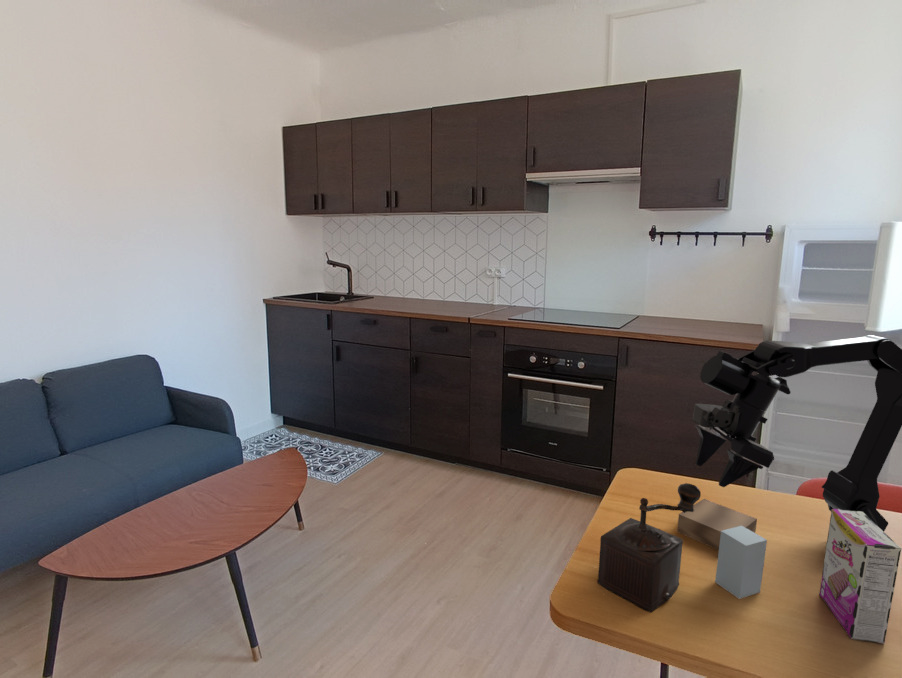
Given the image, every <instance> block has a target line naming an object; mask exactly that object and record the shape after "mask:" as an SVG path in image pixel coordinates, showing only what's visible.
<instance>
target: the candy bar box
mask: <svg viewBox="0 0 902 678" xmlns="http://www.w3.org/2000/svg"><path fill="white" fill-rule="evenodd" d="M830 512H831V513H830V519H829V525H828V533H827V539H826V544H825V545H826V547H825V552H824V553H825V554H824V555H825V556H824V560H823V567H822V574H821V580H820V581H821V582H820V587H819V594H818V595H819V596H820V597H821V599H822V601H823V602H824V603H825V605H827V607H828V609H829V610H830V611H831V612H832V614H833V616H834V617H835V618H836V620H837V621H838V622H839V624H840V625H841V627H842V629H844V631H845V633H847V636H848V637H849V638H850V639H851V640H854V641H861V642H866V643H867V642H870V643H875V644H876V643H877V644H884V645H885V642H886V637H887V630H888V626H889V621H890V614H891V609H892V603H893V597H894V594H895V593H894V592H895V587H896V580H897V575H898V569H899V564H900V557H901V551H902V547H901V546H900V545H898V544H897V543H896V542H895V541H894V540H893V539H892V538H891V537H890V535H888V534H887V533H886V532H885V531H884V532H883V531H882V530H881V529H880V528H879V527H878V526H877V525H876V524H875V523H874V522H873V521H872V520H871V519H870V518H869V517H868V516H867V515H866V514H865V513H863V512H861V511H851V510H842V509H832V510H831V511H830Z"/></svg>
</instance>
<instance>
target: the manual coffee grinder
mask: <svg viewBox="0 0 902 678" xmlns="http://www.w3.org/2000/svg"><path fill="white" fill-rule="evenodd" d="M677 494H678V495H679V499H680V500H679V502H678V503H677V506H676V505H671V504H663V503H656V504H651V505H648V504H649V501H648V498H646V497H642V498H641V499H640V500H639V501H640V502H639V503H640V505H639V511H640V519H639V520H637V519H635V518H632V517H630V518H628V519H627V520H626V519H625V521H622V522H621V523H620V524H618V525H617V526H615V527H613V528H611V530H608V531H607V532H605V533H604V534H602V535H601V536H600V545H599V546H600V547H599V559H598V560H599V562H598V574H597V585H599V586H601V587H602V588H604V589H606V591H609V592H611V593H613V594H615V595H616V596H619V597H620V598H622V599H623V600H625V601H627V602H629V603H630V604H632V605H635V606H636V607H638V608H640V609H642V610H643V611H645V612H649V613H652V612H653V611H655V610H657V608H659V607H660V606H662V605H663V604H664V603H666V602H668V601H669V600H670V599H671V598H672V597H673V594H674V593H675V592H676V591H677V590H678V587H679V586H680V575H681V574H680V573H681V564H682V563H681V562H682V553H683V544H684V539H682V538H680V537H678V536H676V535H674V534H672V533H669V532H667V531H665V530H662V529H659V528H657V527H655V526H653V525H650V524H648V523H647V512H652V511H656V510H668V511H669V510H670V511H677V512H678V511H680V512H683V513H685V512H687V511H689V512H694V508H693V505H695V504H696V502H697V501H698V502H699V501H700V498H701V490H700V488H698V486H697V485H694V484H692V483H687V482H685V483H680V484H679V485H678V487H677Z"/></svg>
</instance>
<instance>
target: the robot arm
mask: <svg viewBox="0 0 902 678" xmlns="http://www.w3.org/2000/svg"><path fill="white" fill-rule="evenodd" d="M865 361H867V364H868V365H869V366H870V367H871V368H872V369H873V370H874V371H876V372H877V374H876V377H875V381H874V387H875V393H876V402H875V404H874V406H873V409H872V411H871V413H870V415H869V416H868V419H867V421H866V424H865V426H864V428H863V431H862V432H861V434H860V437H859V438H858V442H857V443H856V445H855V448H854V450H853V452H852V454H851V457H850V459H849V461H848V463H847V465H846V466H845V467H844V468H842V469H841V470H839V471H834V470H830V471H829V472H828V474H827V477H826V481H825V482H824V483H823V484H822V486H821V488H822V489H823V491H822V498H823V499H824V502H825V503H826V504H827V507H828V510H829V512H831V510H832V509H842V510H851V511H861V512H863V513H865V514H866V515H867V516H868V517H869V518H870V519H871V520H872V521H873V522H874V523H875V524H876V525H877V526H878V527H879V528H880V529H881V530H882V531H883V532H884V533H885V531H886V529H887V527H888V526H889V522H888V520H887V519H885V517H884V516H883V515H882V513H880V512H879V510H877V508H878V504H879V500H880V490H879V485H878V478H879V476H880V474H881V472H882V469H883V467H884V465H885V463H886V461H887V459H888V456H889V454H890V452H891V450H892V448H893V445H894V444H895V441H896V439H897V437H898V435H899V433H900V431H901V429H902V348H901V347H900V346H898V345H897V344H896V343H895V342H894V341H892V340H891V339H889V338H886V337H882V336H877V335H873V334H868V335H864V336H860V337H859V336H858V337H853V338H852V337H851V338H841V339H835V340H834V339H833V340H824V341H817V342H808V343H799V342H792V341H783V340H782V341H781V340H764V341H761V342H760V343H758V345H757V346H756V348H755V349H753V350H751V351H748V352H747V353H745V354H743V355H741V356H739V357H737V358H736V357H734V356H733V355H732V354H731V353H728V352H725V351H723V350H718V352H717V354H716V355H714V356H712V357H711V358H709V359H708V360H707V361H706V362H704V364H703V365H702V368H701V370H700V376H699V377H700V378H699V379H700V380H701V382H702V384H705V385H707V386H709V387H711V388H713V389H716V390H718V391H721V392H723V393H725V394H726V395H729V396H734V397H733V399H732V400H729V399H727V400H725V401H724V402H723V404H722V405H718V404H708V403H707V404H706V403H694V409H693V414H692V421H693V422H694V423H695V424H694V427H695V428H696V430H697V431H698V432H697V433H698V435H699V442H698V448H697V454H696V459H695V465H696V466H699V467H702V466H703V465H704V464H705V463H706V462H708V460H710V458H711V457H712V456H713V455H714V454H715V453H716V452H717V451H718V450H719V449H720V448H721V447H722V446H723V445H724V444H725V443H726V442H727V441H729V442H730V449H729V448H727V449H726V451H727V455H728V461H727V463H726V465H725V468H724V470H723V472H722V474H721V476H720V479H719V481H718V486H719V487H721V488H725V487H727V486H729V485H730V484H733V483H734V482H735V481H737V480H739V479H741V478H742V477H744V476H746V475H748V474H749V473H752V472H754V471H756V470H758V469H760V470H762V469H764V467H765V468H767V469H770V467H771V466H772V464H773V463H774V461H775V455H774V453H773V451H771V450H770V449H768V448H766V447H765V446H764V445H762V444H760V443H758V442H756V440H757V438H756V436H753V435H754V433H755V431H756V430H757V428H758V426H759V424H760V423H761V424H764V425H765V424H766V423H767V421H768V418H766V417H765V414H766V412H767V411H768V409H769V408H770V406H771V404H772V402H773V401H774V398H775V397H776V396H777V393H778V392H780V393H781V392H782V393H784V394H786V395H790V394H791V392H792V391H791V390H790V388H789V385H788V381H787V379H785V378H789V377H793V376H796V375H800V374H803V373H805V372H807V371H808V370H810V369H812V368H816V367H821V366H829V365H830V366H831V365H836V364H837V365H838V364H845V363H847V364H848V363H856V362H865ZM753 373H757V374H754V375H753ZM772 376H776V377H772Z"/></svg>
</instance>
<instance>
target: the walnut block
mask: <svg viewBox="0 0 902 678" xmlns="http://www.w3.org/2000/svg"><path fill="white" fill-rule="evenodd" d="M693 508H694V512H689V511H687V512H685V513H683V511H681V512H680V513H678V520H677V528H676V529H677V530H676V532H677V533H678V534H681V535H683V536H686V537H687V538H690V539H693V540H694V541H697V542H700V543H701V544H704V545H706V546H708V547H710V548H713V549H714V550H717V551H719V545H720V536H721V531H723V530H726V529H730V528H734V527H738V526H743V527H745V528H747V529H749V530H750V531H752V532H754V533H756V531H757V522H758V518H756V517H754V516H751V515H748V514H745V513H743V512H740V511H737V510H735V509H732V508H730V507H727V506H724V505H722V504H719V503H716V502H714V501H711V500H708V499H707V498H703V499H701V500H699V501H698V502H697V503H696V502H695V504H694V505H693Z"/></svg>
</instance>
